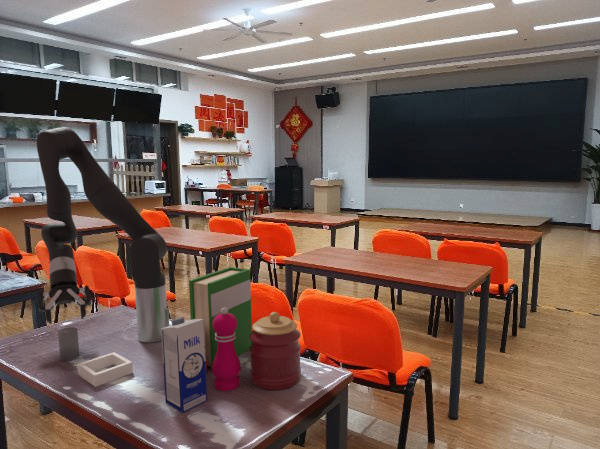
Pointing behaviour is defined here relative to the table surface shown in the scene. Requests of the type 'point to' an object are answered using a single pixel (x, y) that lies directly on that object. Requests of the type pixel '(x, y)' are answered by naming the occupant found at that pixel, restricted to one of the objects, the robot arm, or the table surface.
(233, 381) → the pepper mill
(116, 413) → the table surface
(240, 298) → the hardback book
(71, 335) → the peg
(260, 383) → the canister
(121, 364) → the socket
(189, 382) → the milk carton
